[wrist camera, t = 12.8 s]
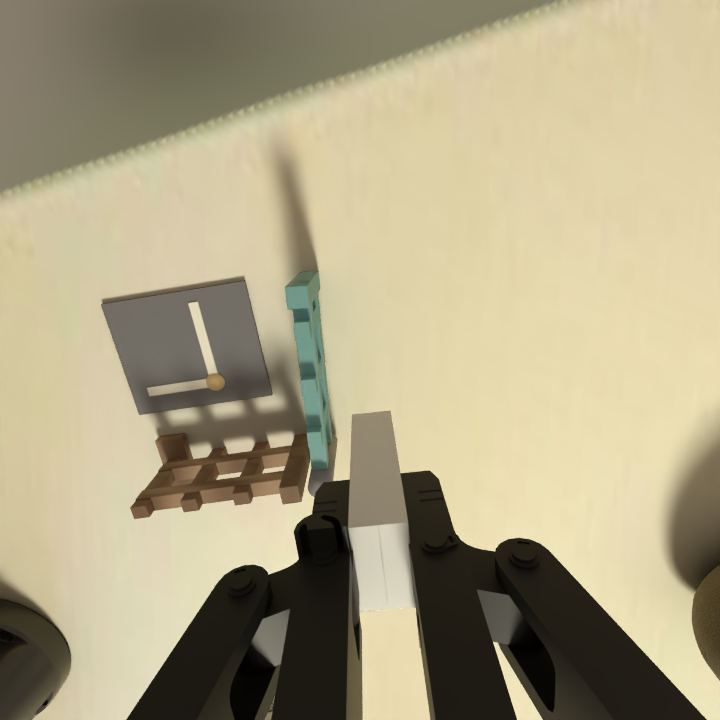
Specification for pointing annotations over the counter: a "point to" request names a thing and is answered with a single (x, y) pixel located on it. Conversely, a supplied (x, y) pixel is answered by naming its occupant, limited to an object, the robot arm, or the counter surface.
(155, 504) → the fence
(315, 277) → the fence
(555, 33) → the counter surface
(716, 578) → the dark brown ball
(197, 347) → the card
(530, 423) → the counter surface
